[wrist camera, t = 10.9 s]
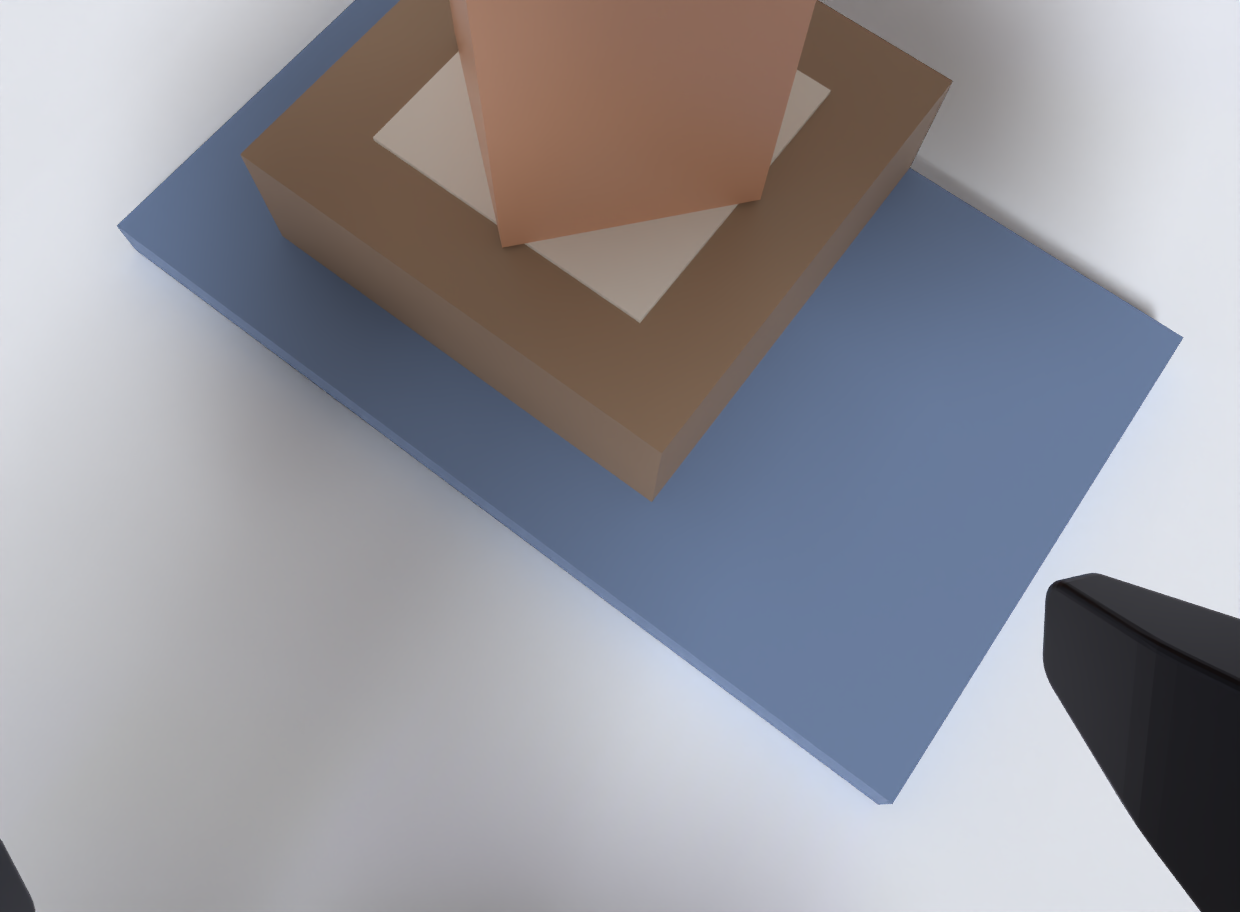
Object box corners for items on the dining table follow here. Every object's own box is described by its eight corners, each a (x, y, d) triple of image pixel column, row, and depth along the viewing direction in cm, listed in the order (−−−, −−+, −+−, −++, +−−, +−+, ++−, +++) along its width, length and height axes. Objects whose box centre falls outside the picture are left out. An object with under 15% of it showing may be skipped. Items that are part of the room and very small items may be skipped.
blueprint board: (1159, 356, 24) (1270, 266, 20) (878, 804, 21) (945, 800, 17) (472, -75, 27) (453, -223, 24) (135, 249, 24) (48, 139, 20)
